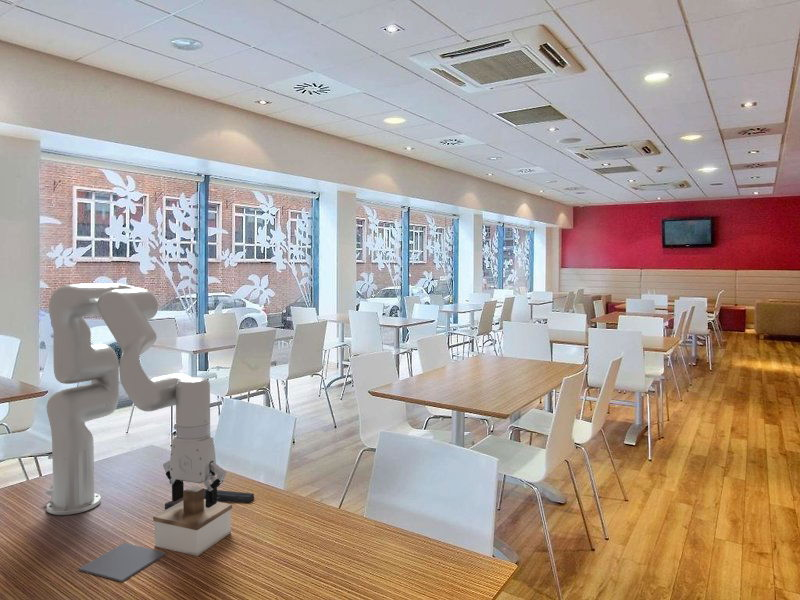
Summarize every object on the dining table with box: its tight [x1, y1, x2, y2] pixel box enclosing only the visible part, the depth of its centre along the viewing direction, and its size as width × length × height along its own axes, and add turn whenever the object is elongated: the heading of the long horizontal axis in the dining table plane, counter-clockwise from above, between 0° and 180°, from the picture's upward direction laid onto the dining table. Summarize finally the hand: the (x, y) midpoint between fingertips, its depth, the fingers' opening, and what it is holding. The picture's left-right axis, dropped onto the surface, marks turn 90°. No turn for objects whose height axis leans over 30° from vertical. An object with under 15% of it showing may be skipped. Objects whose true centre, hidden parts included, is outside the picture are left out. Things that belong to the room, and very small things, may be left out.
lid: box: [152, 485, 233, 530], centre depth 133 cm, size 12×12×6 cm
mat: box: [78, 542, 167, 583], centre depth 123 cm, size 12×12×1 cm
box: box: [154, 509, 232, 557], centre depth 133 cm, size 12×12×6 cm
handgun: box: [164, 488, 255, 511], centre depth 153 cm, size 2×20×12 cm
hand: (194, 502), depth 133 cm, fingers open, 9 cm apart
